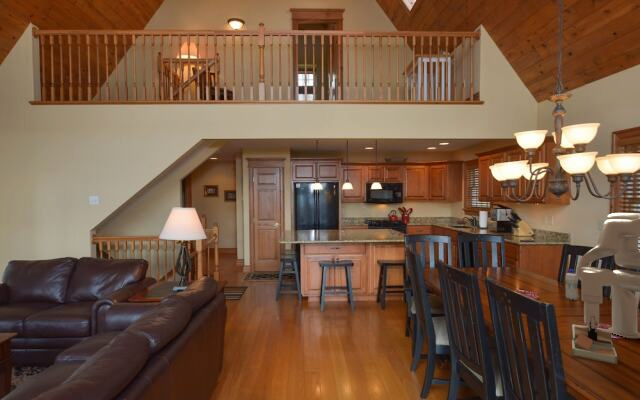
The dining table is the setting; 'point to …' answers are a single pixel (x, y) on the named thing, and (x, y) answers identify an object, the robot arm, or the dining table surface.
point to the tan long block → (602, 334)
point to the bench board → (593, 341)
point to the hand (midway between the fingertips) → (592, 338)
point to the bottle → (571, 285)
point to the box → (595, 353)
